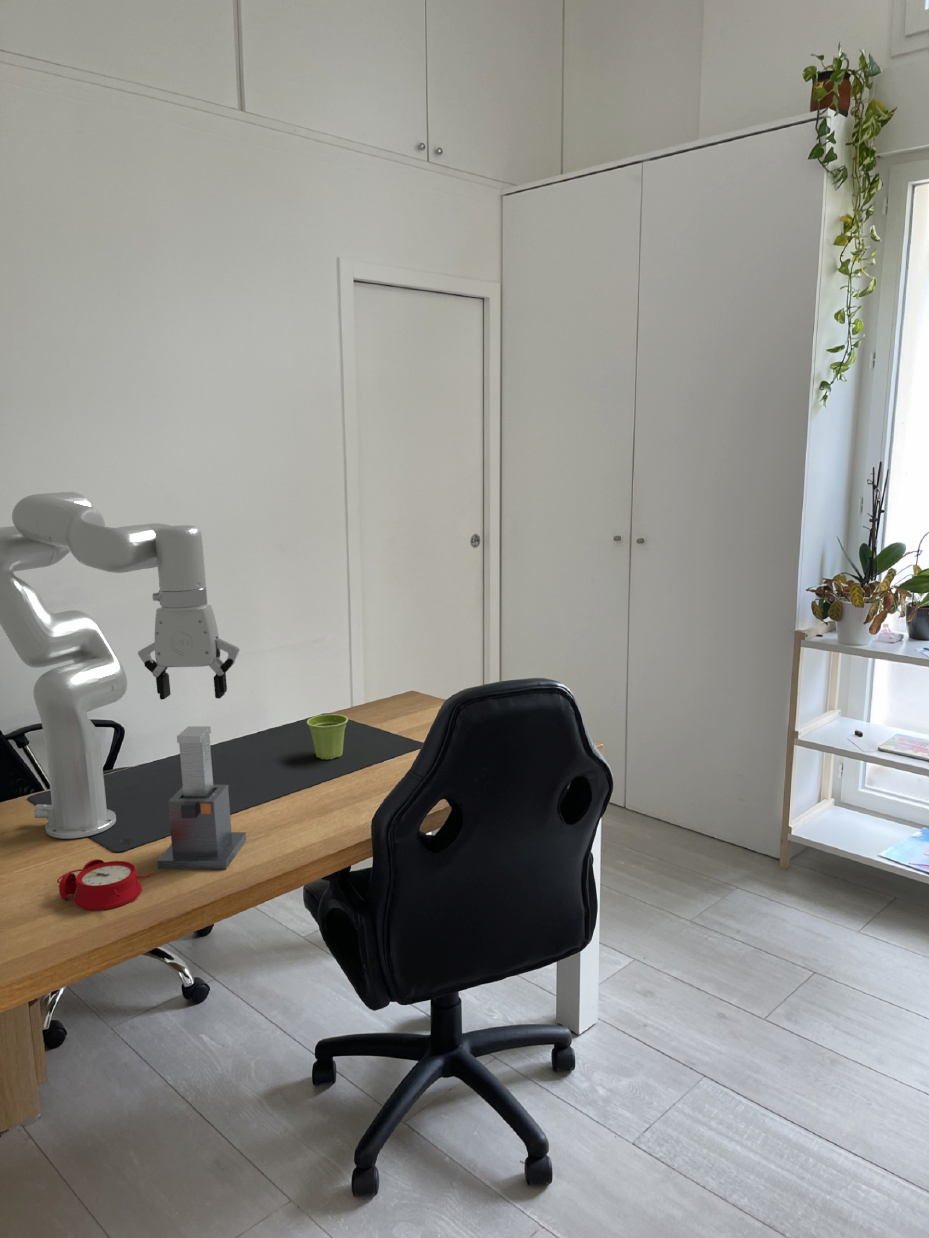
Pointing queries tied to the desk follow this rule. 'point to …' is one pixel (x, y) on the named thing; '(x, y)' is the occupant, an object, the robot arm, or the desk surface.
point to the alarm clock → (102, 885)
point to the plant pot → (328, 735)
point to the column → (196, 762)
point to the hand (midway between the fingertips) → (192, 697)
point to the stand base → (201, 832)
